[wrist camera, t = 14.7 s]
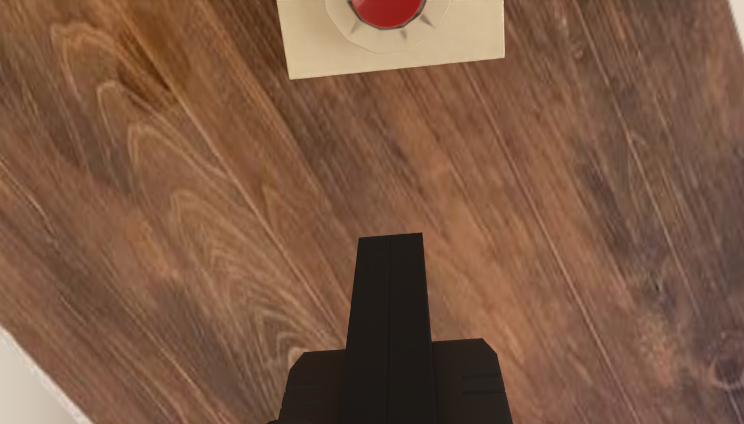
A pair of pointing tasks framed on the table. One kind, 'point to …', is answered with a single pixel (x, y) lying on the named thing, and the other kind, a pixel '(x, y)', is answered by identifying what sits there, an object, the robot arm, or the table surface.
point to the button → (386, 11)
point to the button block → (387, 36)
